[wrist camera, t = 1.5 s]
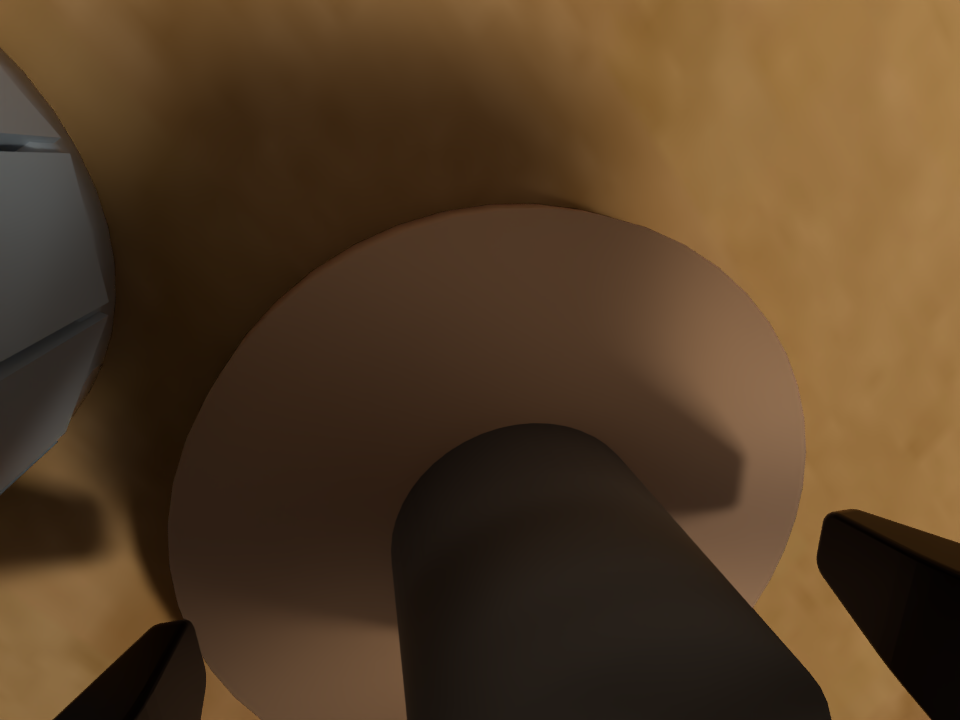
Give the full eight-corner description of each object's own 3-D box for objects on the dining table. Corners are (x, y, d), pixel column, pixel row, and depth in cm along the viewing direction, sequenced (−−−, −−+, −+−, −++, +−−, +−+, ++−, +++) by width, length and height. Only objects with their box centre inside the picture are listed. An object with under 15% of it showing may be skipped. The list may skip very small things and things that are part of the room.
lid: (738, 658, 12) (965, 954, 8) (258, 776, 11) (189, 1241, 6) (799, 176, 9) (1273, 203, 4) (102, 236, 7) (-334, 381, 3)
